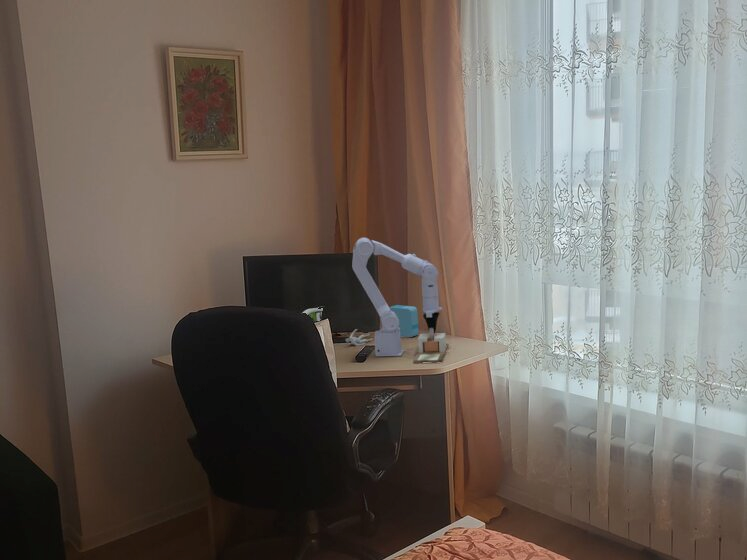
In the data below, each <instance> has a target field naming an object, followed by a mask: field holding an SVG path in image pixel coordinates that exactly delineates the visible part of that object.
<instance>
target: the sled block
mask: <svg viewBox="0 0 747 560" xmlns="http://www.w3.org/2000/svg"><path fill="white" fill-rule="evenodd" d="M428 334H429V336H430V337H429V339H428V341H427V342H424V348H425V351H439V341H435V342H434V337H435V333H434V329H433V328H429V330H428Z"/></svg>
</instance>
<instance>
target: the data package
mask: <svg viewBox="0 0 747 560" xmlns="http://www.w3.org/2000/svg"><path fill="white" fill-rule="evenodd" d="M389 308H390V309H391V310H392V311H394V312H395V313H396V315H397V318H398V319H399V326H398V327H399V328H400V336H404V337H403V338H407V337H411V338H414V337H416V335H417V336H418V335H420V334H419V333H420V332H419V317H418V314H419V313H418V309H417V307H416V306H414V305H413V306H410V305H401V304H395V305H392V306H389ZM413 336H414V337H413Z"/></svg>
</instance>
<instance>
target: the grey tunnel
mask: <svg viewBox="0 0 747 560" xmlns="http://www.w3.org/2000/svg"><path fill="white" fill-rule="evenodd" d="M429 338H430V336H429V333H420V334H419V336H418V337H417V346H418V349H417V350H418V351H419V353H423V352H424V350H425V348H424V342H427V341H428V339H429ZM435 341H439V351H440V352H444V351H445V349H446V344H447V338H446V332H439V333H438V332H437V333H436V332H435V334H434V342H435ZM418 351H417V352H418Z"/></svg>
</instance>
